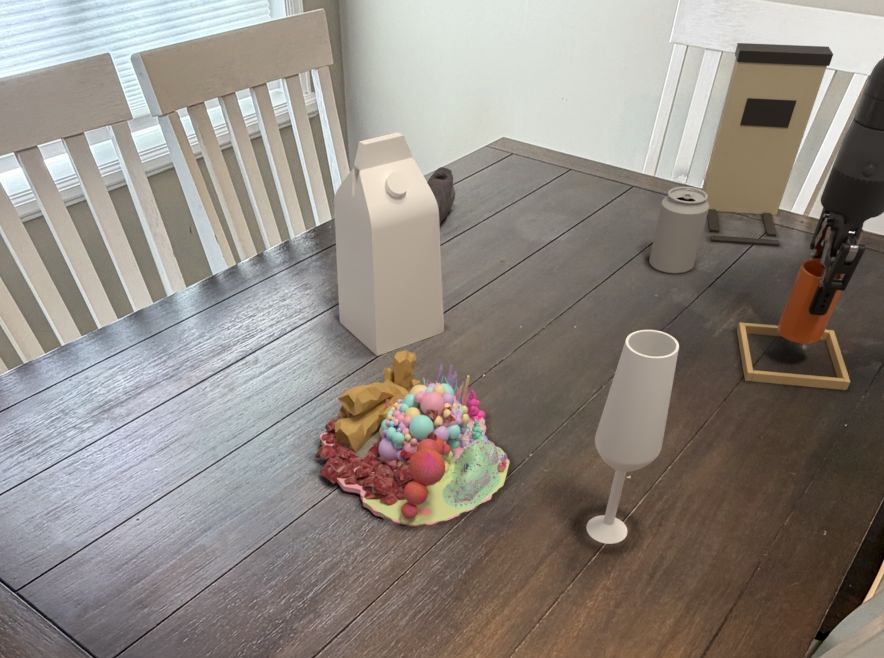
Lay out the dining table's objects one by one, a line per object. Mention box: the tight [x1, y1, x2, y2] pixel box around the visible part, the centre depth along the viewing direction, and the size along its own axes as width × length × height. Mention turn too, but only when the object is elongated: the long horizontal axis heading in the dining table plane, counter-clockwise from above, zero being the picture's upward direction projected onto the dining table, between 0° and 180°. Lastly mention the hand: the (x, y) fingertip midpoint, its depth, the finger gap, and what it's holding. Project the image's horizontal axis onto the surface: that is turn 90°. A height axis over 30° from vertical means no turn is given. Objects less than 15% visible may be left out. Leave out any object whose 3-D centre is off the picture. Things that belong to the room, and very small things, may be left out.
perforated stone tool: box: [427, 166, 456, 225], centre depth 135 cm, size 15×5×7 cm, turn 164°
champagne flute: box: [586, 329, 680, 545], centre depth 75 cm, size 7×7×24 cm
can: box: [648, 186, 709, 274], centre depth 121 cm, size 8×8×12 cm
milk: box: [333, 132, 445, 357], centre depth 103 cm, size 12×12×26 cm
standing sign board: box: [701, 42, 834, 248], centre depth 125 cm, size 15×18×26 cm
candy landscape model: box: [314, 349, 511, 527], centre depth 90 cm, size 25×24×9 cm
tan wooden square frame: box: [736, 321, 851, 391], centre depth 105 cm, size 14×14×2 cm
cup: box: [777, 258, 843, 345], centre depth 99 cm, size 6×6×9 cm
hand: (812, 300), depth 99 cm, fingers closed on cup, 6 cm apart
